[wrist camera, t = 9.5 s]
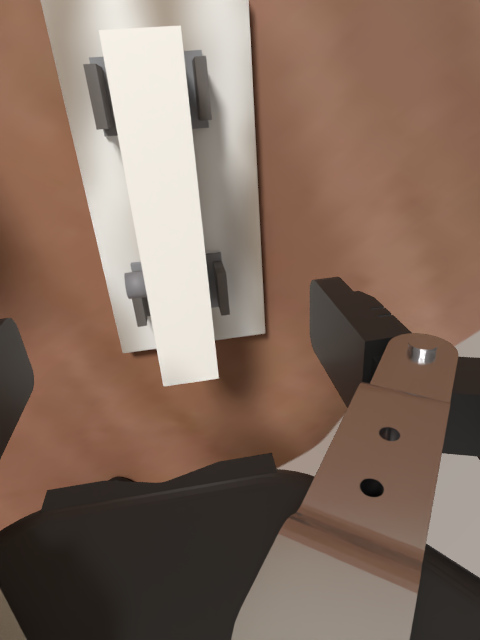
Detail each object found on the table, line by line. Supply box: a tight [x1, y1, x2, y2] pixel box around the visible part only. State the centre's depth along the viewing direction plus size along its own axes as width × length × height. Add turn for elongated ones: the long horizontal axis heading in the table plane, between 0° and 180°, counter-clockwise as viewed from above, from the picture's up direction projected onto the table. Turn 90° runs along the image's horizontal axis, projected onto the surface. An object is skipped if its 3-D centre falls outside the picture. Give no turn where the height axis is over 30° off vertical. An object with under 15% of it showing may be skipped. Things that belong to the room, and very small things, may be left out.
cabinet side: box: [41, 0, 265, 353], centre depth 27 cm, size 11×22×4 cm, turn 4°
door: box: [99, 25, 219, 386], centre depth 23 cm, size 4×16×9 cm, turn 4°
